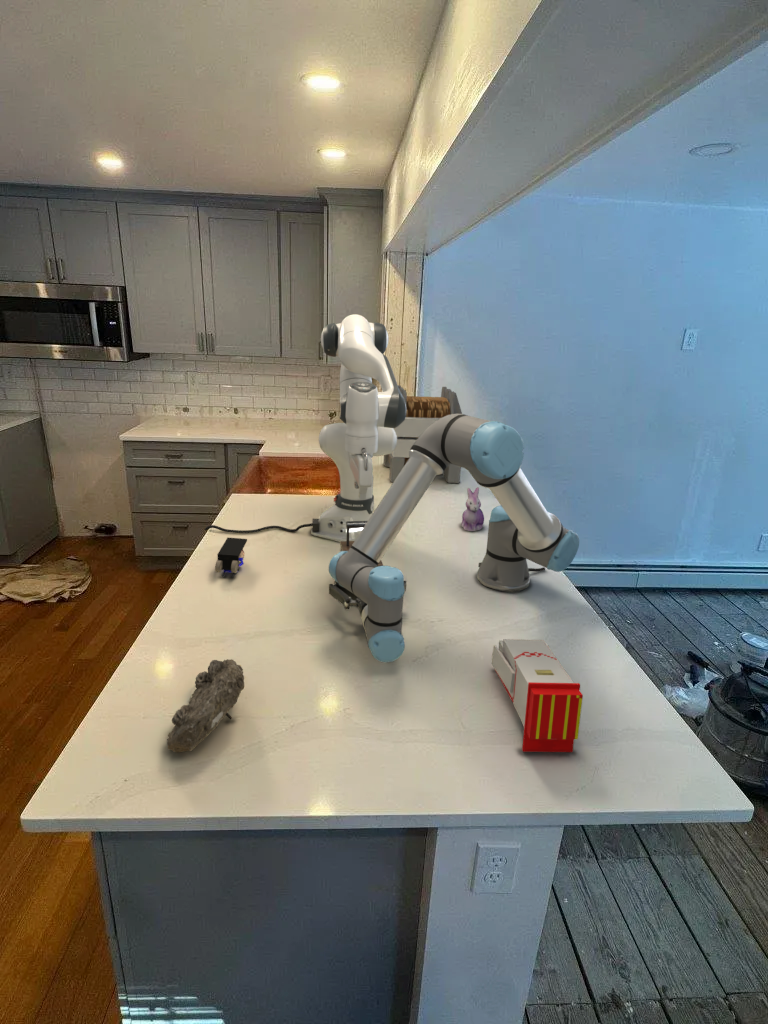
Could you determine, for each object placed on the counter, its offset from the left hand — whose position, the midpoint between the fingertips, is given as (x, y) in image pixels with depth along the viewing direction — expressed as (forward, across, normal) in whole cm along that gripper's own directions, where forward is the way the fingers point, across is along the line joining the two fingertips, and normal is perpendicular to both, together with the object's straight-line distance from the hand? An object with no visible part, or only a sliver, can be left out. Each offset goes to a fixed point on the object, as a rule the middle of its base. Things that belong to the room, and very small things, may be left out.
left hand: (359, 493), depth 157 cm
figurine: (+26, +37, -48) cm, 66 cm away
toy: (+26, -60, -27) cm, 71 cm away
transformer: (+26, +109, -45) cm, 121 cm away
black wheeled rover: (+26, +9, +36) cm, 45 cm away
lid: (+17, -5, 0) cm, 18 cm away
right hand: (+19, -11, 0) cm, 22 cm away
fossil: (+26, -56, +35) cm, 71 cm away
